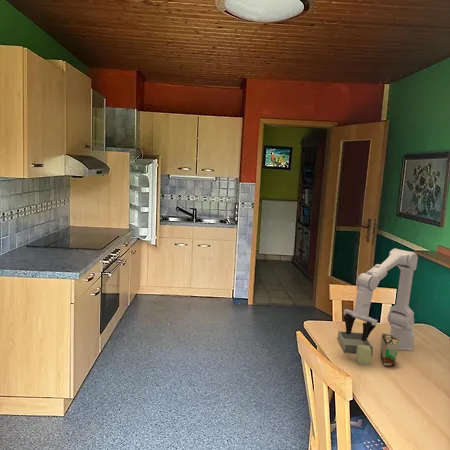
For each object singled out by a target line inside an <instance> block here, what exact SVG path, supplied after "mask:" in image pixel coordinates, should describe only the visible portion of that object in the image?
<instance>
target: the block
mask: <svg viewBox="0 0 450 450" xmlns="http://www.w3.org/2000/svg"><path fill="white" fill-rule="evenodd" d="M371 351H372V350H371V349H370V347H369V346H365V345H357V352H356V354H355V360H356V362H357V364H359V365H368V366H369V365H371V359H372V355H371Z"/></svg>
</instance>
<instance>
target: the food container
mask: <svg viewBox="0 0 450 450" xmlns="http://www.w3.org/2000/svg"><path fill="white" fill-rule="evenodd" d="M380 341H381V342H380V355H379V357H380V361H381V363H382V366H383V368H392V367H394V366H395V364H396V360H397V355H398V351H399V349H398V348H400V342H399V339H398V338H396V337H394V336H392V335H390V333H383V332H382V333H381V340H380Z"/></svg>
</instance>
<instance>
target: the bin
mask: <svg viewBox="0 0 450 450" xmlns="http://www.w3.org/2000/svg"><path fill="white" fill-rule="evenodd" d="M362 334H363V332H356V331H355V332H354V331H351V334H346V331H342V330H338V331H337V340H338V343H339V344H340V346H341V348H342V350H343V352H344V353H345V354H355V355H356V352H357V345H365V346H369V347H370V349H371V350H372V351H371V356H373V353H374V352H373V350H374V346H373V345H372V343H371V342H370V340H369V339H368V338H367V340H366V341H362Z"/></svg>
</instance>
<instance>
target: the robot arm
mask: <svg viewBox="0 0 450 450" xmlns="http://www.w3.org/2000/svg"><path fill="white" fill-rule="evenodd" d="M418 259H419V256H418V255H417V253H416V252H415V251H409V250H403V249H399V248H396V247H395V248H393V249H391V250H390V251H389V253H388V257H387V258H386V259H385V260H384V261H383V262H381V264H380V263H378V264H377V263H376V264H375V265H374V266H373V267H372V268H370V269H369V270H368V271H367V272H362V273H360V274H359V275H358V276H357V279H356V281H355V283H356V291H357V293H356V297H355V301H354V307H353V310H351V309H344V310H343V320H344V324H345V332H346V334H351V332H353V326H354V324H355V321H356V319H357V320H360V321H362V333H363V334H362V341H366V340H367V339H368V338H369V336H370V334H371V333H372V331H373V330H374V329H375V328H376V326H377V325H378V319H375V318H374V317H373V318H372V317H370V316H369V314H370V308H371V304H372V298H373V293H374V291H375V290H376V289H377V288H378V285H379V284H380V281H381V280H383V279H384V278H385V277H386V276H387V275H388V271H390V270H391V269H392V268H394V267H396V266H397V267H398V268H399V271H400V273H399V281H398V288H397V293H396V294H397V295H396V302H395V304H394V305H393V306H390V308H389V312H388V314H387V317H386V318H387V322H388V323H389V326H390V330H389V331H390V332H389V335H392V336H394V337H396V338H398V339H399V342H400V348H398V351H399V350H400V351H401V350H402V351H410V352H411V351H414V343H415V342H414V340H415V331H414V328H413V326H414V324H415V318H414V315H415V312H414V311H413V310H412V309H411V307H410V306H409V304H410V298H411V291H412V285H413V277H414V271H416V270H417V266H418Z"/></svg>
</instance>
